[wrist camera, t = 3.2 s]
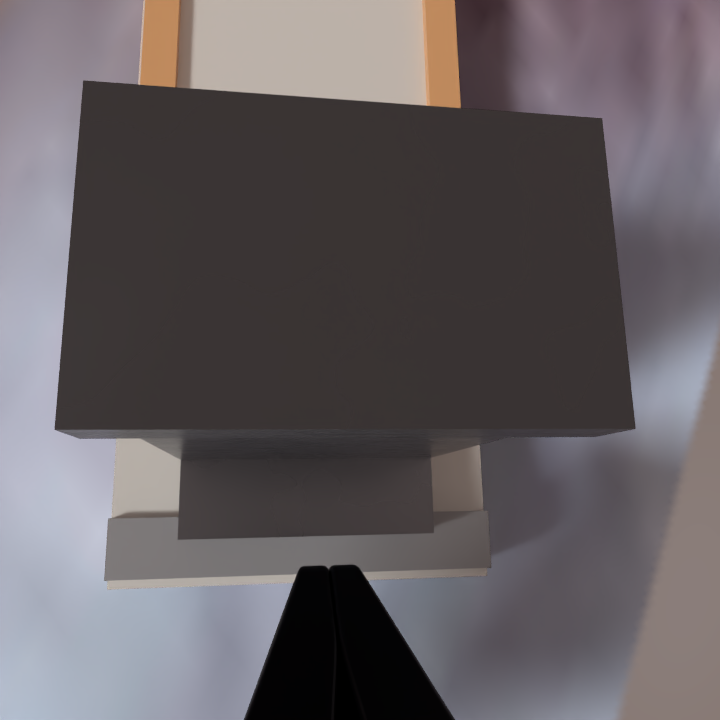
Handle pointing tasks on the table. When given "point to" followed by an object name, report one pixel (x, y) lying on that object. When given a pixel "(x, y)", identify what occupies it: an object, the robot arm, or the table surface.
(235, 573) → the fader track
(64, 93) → the table surface
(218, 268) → the fader knob
